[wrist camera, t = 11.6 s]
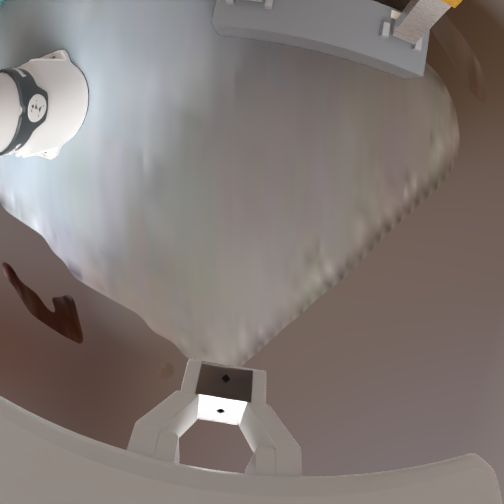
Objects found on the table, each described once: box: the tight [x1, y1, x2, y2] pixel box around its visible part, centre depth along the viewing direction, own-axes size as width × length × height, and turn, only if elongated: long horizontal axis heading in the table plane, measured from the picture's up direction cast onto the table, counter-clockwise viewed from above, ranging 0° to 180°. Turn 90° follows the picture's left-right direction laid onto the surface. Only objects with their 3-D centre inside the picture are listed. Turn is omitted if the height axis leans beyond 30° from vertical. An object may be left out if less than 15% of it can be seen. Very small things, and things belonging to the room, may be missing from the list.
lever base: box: [211, 0, 430, 79], centre depth 28 cm, size 26×8×7 cm, turn 80°
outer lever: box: [392, 0, 462, 45], centre depth 20 cm, size 4×2×11 cm, turn 80°
